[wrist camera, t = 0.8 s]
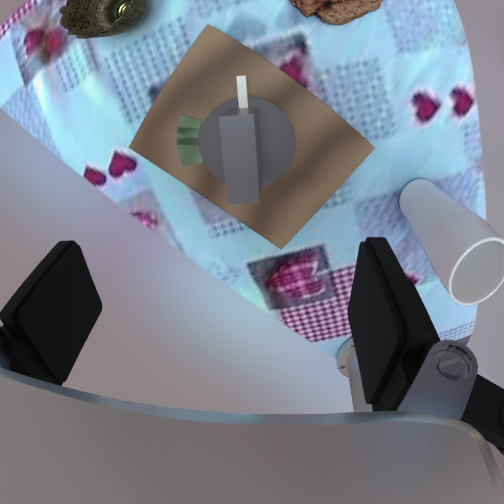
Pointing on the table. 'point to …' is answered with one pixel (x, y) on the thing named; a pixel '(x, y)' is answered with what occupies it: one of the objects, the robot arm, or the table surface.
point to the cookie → (336, 9)
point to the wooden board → (258, 85)
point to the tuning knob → (247, 144)
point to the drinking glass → (454, 242)
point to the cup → (100, 16)
